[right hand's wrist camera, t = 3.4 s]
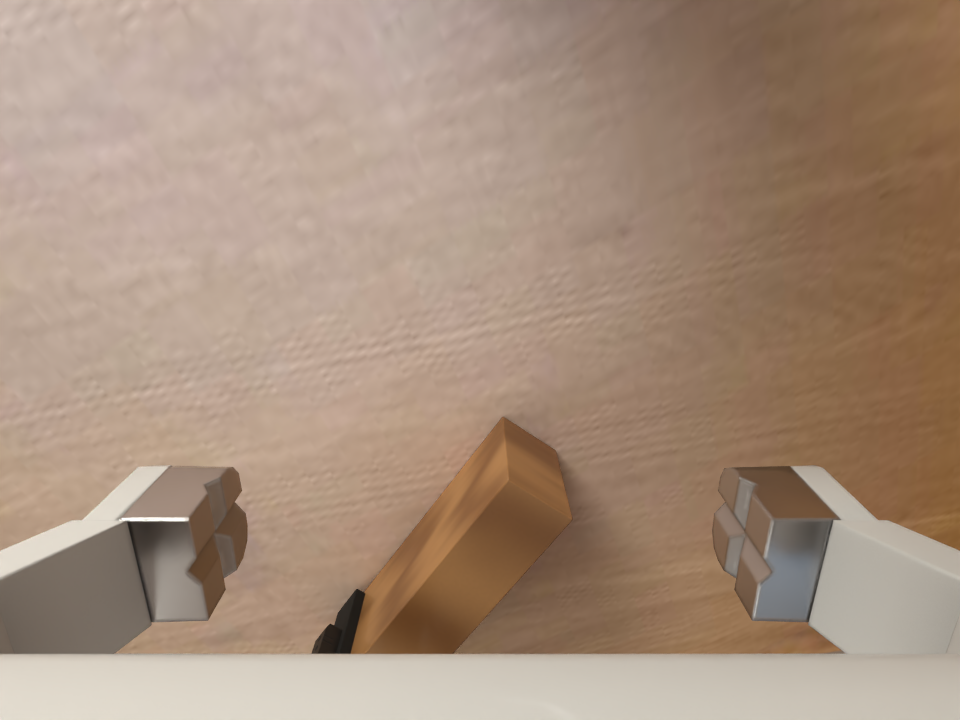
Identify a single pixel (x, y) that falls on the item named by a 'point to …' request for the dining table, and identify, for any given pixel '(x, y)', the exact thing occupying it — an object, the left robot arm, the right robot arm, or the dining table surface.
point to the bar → (467, 548)
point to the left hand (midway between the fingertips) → (381, 619)
